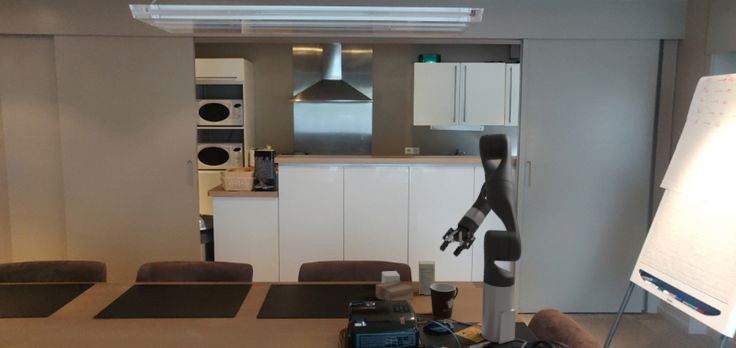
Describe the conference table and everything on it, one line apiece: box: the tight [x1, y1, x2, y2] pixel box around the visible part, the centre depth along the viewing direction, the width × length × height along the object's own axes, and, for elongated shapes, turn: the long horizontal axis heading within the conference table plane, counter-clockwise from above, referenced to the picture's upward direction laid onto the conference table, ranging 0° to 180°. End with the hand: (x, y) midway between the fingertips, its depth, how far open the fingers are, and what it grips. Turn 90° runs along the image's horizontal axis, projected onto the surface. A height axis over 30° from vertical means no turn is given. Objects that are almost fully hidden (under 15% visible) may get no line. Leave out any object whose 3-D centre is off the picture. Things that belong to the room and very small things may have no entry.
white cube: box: [381, 270, 401, 284], centre depth 198 cm, size 6×6×6 cm
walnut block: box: [375, 280, 414, 302], centre depth 186 cm, size 10×10×5 cm
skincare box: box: [418, 260, 436, 296], centre depth 192 cm, size 6×4×12 cm
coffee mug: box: [430, 282, 459, 319], centre depth 170 cm, size 12×9×10 cm
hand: (447, 252), depth 196 cm, fingers open, 8 cm apart
